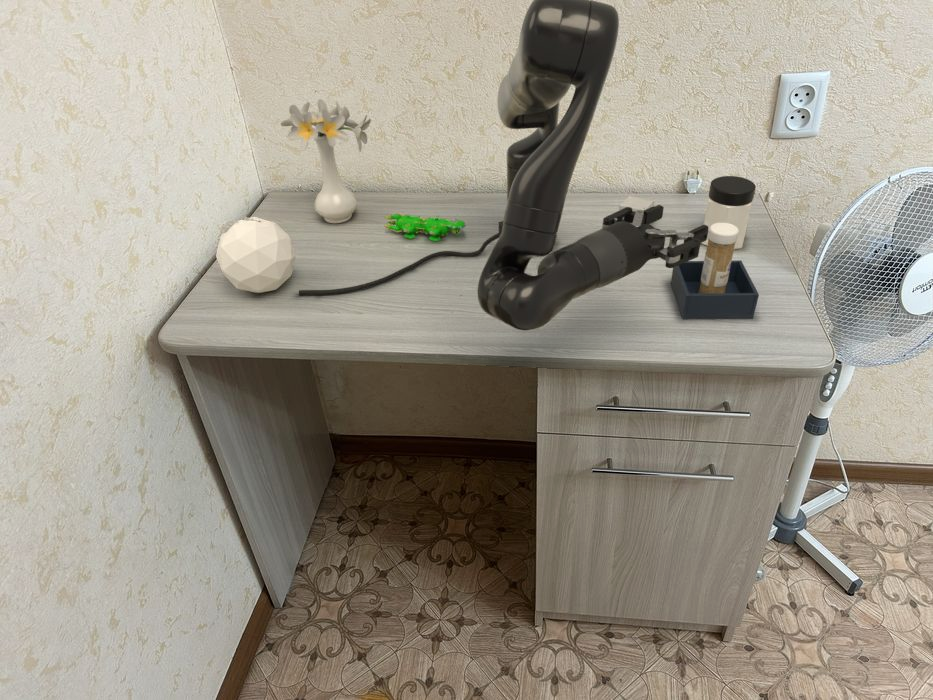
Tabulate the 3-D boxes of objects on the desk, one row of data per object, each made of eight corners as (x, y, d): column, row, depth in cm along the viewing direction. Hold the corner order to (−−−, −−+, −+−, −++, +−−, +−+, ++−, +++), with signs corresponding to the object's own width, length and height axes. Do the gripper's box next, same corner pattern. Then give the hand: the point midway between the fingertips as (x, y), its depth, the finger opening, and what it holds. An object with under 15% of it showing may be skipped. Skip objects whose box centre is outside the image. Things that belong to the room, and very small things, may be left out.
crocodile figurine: (462, 245, 140) (460, 226, 138) (380, 237, 145) (377, 219, 142) (470, 230, 145) (469, 212, 143) (391, 223, 150) (389, 205, 147)
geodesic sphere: (195, 289, 120) (229, 222, 115) (198, 251, 131) (229, 188, 126) (275, 318, 128) (311, 257, 123) (272, 280, 139) (304, 222, 134)
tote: (682, 319, 116) (686, 295, 113) (670, 284, 125) (673, 261, 122) (753, 318, 115) (759, 294, 112) (736, 283, 124) (741, 260, 121)
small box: (652, 221, 145) (655, 199, 142) (642, 232, 141) (645, 210, 138) (627, 215, 147) (629, 194, 144) (616, 226, 143) (618, 205, 140)
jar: (753, 241, 136) (767, 184, 128) (729, 256, 132) (741, 198, 124) (714, 226, 141) (725, 171, 134) (690, 239, 137) (700, 183, 130)
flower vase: (379, 228, 148) (363, 112, 133) (295, 232, 149) (269, 116, 134) (384, 202, 159) (370, 91, 143) (305, 205, 159) (283, 96, 144)
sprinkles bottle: (723, 306, 117) (739, 235, 109) (696, 302, 118) (709, 232, 110) (724, 292, 121) (739, 222, 112) (697, 288, 122) (710, 220, 114)
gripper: (646, 252, 90) (726, 214, 97) (572, 214, 99) (650, 182, 106) (640, 300, 94) (717, 260, 101) (569, 259, 104) (644, 226, 111)
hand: (682, 220), depth 104 cm, fingers open, 8 cm apart
